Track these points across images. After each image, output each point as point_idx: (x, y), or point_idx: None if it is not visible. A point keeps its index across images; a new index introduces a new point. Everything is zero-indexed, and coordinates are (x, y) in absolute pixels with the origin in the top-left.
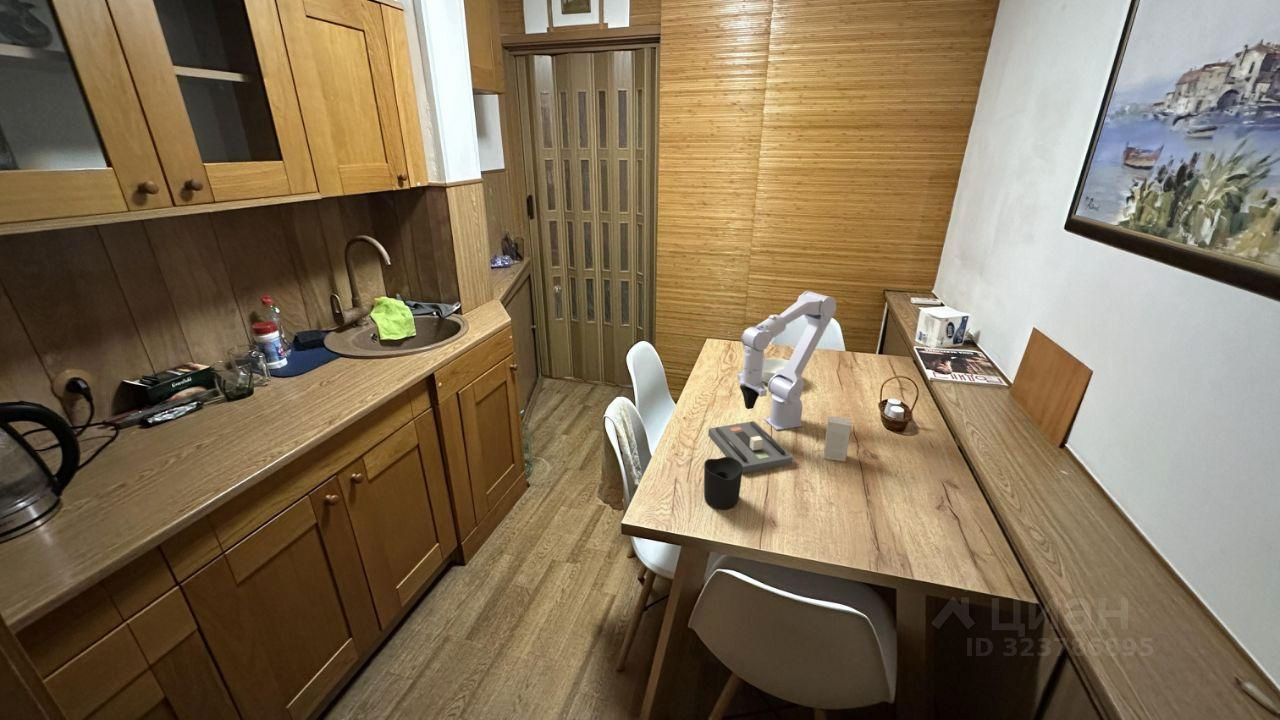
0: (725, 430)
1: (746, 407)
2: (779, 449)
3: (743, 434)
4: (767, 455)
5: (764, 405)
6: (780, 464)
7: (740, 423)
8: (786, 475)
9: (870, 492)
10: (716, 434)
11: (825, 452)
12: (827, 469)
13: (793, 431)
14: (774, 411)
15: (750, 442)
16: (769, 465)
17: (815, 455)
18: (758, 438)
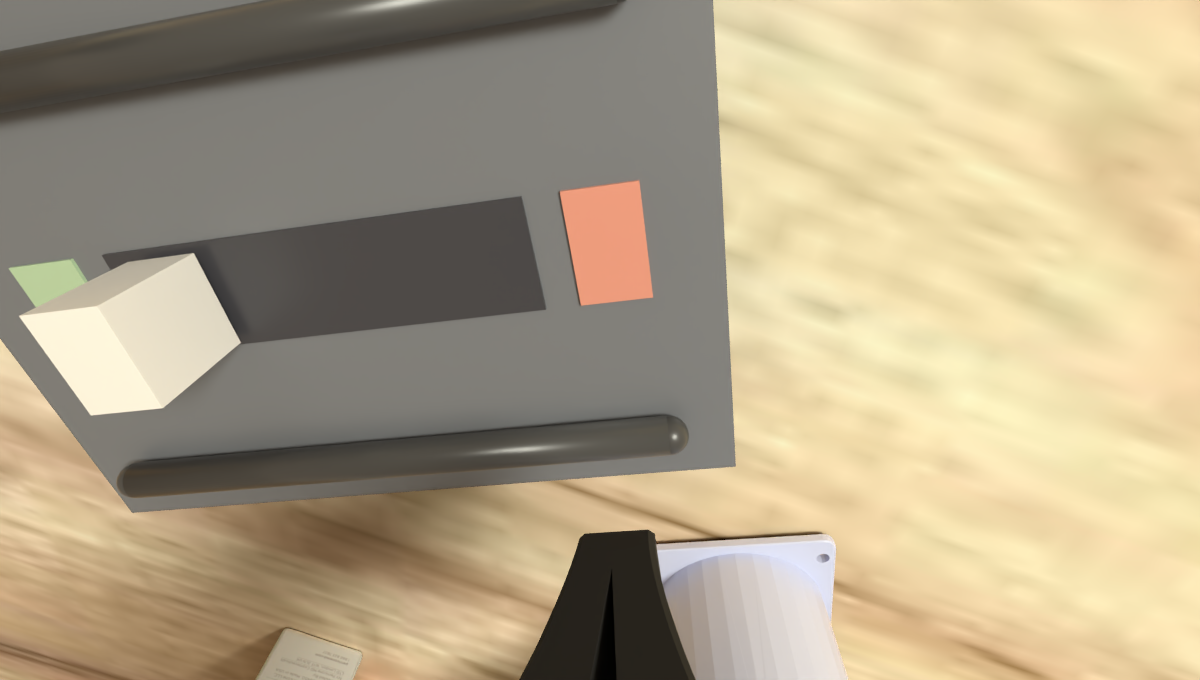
0: (602, 102)
1: (608, 542)
2: (159, 475)
3: (476, 282)
4: None
5: (1044, 604)
6: None
7: (725, 333)
8: (26, 386)
9: (11, 658)
10: None
11: (261, 669)
12: (171, 599)
13: None
14: (728, 673)
15: (138, 278)
16: None
17: (315, 607)
18: (98, 382)
